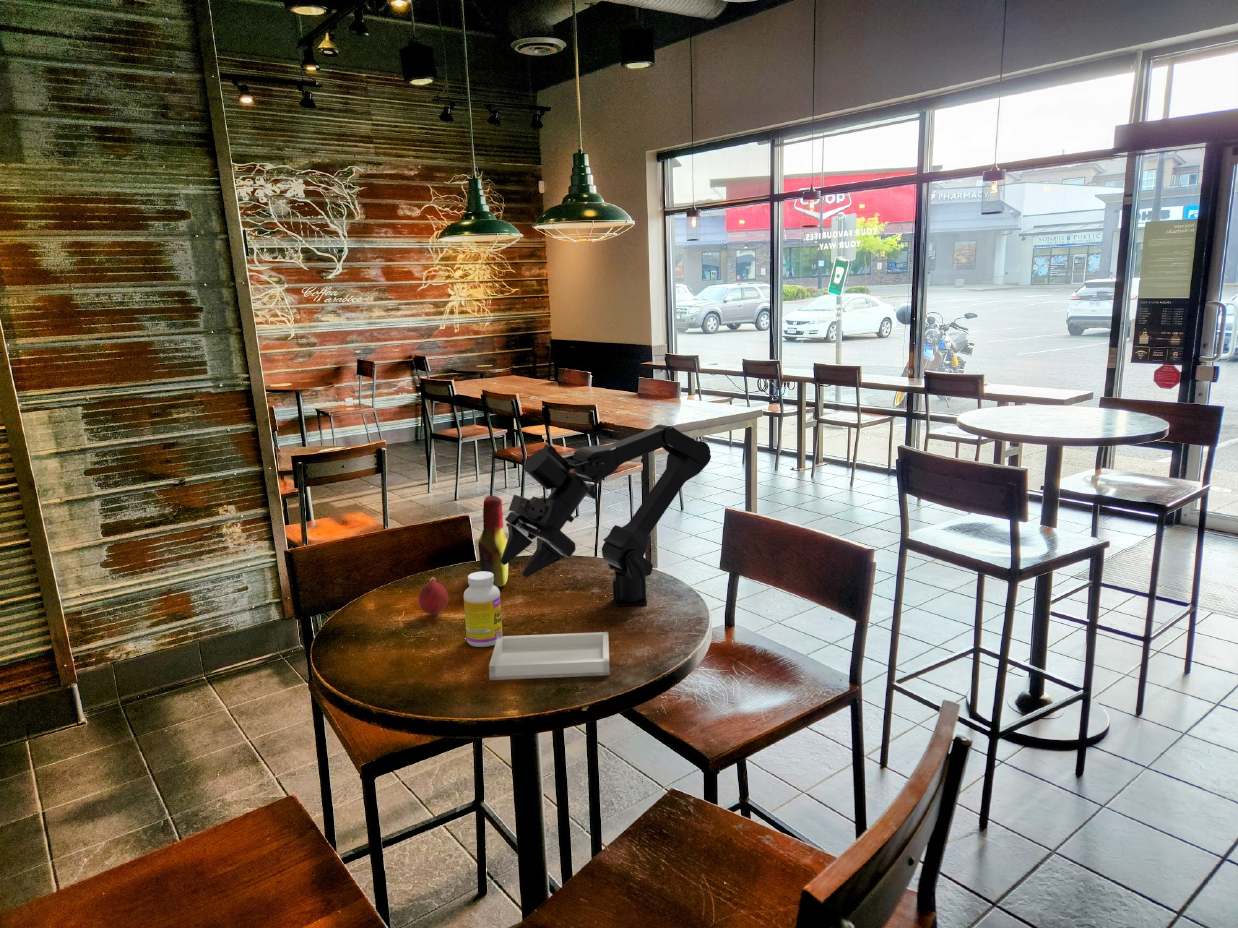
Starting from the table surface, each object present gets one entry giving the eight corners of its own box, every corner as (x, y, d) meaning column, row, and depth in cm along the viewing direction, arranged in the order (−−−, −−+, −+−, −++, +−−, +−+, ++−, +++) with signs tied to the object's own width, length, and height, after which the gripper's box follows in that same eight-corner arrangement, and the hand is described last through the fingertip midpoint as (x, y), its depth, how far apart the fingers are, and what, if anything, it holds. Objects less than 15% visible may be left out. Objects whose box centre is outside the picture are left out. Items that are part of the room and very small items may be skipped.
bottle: (514, 588, 173) (509, 500, 169) (485, 592, 172) (479, 503, 168) (505, 571, 185) (500, 489, 181) (478, 575, 183) (472, 491, 179)
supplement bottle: (499, 648, 143) (495, 581, 140) (463, 648, 143) (458, 582, 141) (505, 633, 149) (501, 568, 147) (471, 633, 150) (466, 569, 147)
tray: (608, 644, 143) (608, 631, 142) (609, 674, 131) (609, 661, 131) (498, 649, 142) (497, 636, 142) (489, 680, 131) (488, 666, 130)
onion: (434, 623, 155) (431, 584, 154) (414, 617, 158) (410, 580, 157) (455, 613, 160) (452, 575, 159) (435, 608, 163) (432, 571, 162)
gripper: (511, 471, 155) (462, 535, 151) (558, 487, 139) (505, 558, 135) (548, 503, 160) (502, 565, 157) (597, 522, 145) (547, 592, 141)
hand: (512, 569), depth 147 cm, fingers open, 9 cm apart
